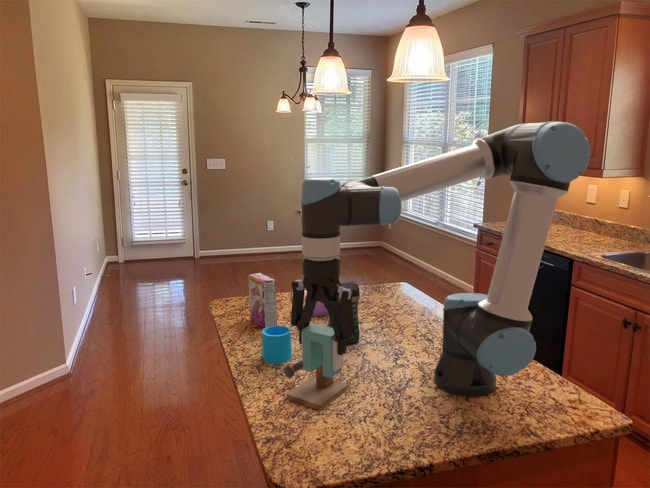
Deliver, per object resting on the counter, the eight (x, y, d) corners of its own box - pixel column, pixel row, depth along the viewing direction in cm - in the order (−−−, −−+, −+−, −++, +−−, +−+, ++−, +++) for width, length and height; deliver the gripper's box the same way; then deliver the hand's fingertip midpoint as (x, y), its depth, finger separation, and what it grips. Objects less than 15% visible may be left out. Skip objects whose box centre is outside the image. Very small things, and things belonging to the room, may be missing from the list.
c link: (341, 370, 104) (341, 330, 102) (330, 378, 101) (330, 336, 99) (314, 362, 108) (313, 323, 106) (303, 369, 105) (302, 329, 103)
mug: (293, 362, 140) (292, 335, 138) (263, 365, 139) (262, 337, 137) (288, 345, 152) (287, 320, 150) (261, 347, 150) (260, 322, 149)
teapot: (301, 304, 189) (300, 278, 187) (327, 301, 193) (327, 275, 191) (315, 320, 173) (314, 291, 171) (343, 316, 176) (343, 288, 174)
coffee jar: (334, 348, 149) (334, 288, 145) (324, 339, 156) (323, 281, 152) (363, 343, 153) (364, 284, 149) (352, 334, 160) (352, 277, 156)
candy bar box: (249, 320, 173) (247, 274, 170) (262, 317, 176) (260, 272, 172) (264, 330, 164) (262, 281, 161) (277, 326, 167) (276, 279, 163)
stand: (348, 388, 125) (347, 337, 122) (307, 420, 111) (306, 363, 108) (315, 378, 130) (314, 329, 128) (272, 407, 117) (270, 353, 114)
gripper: (374, 258, 97) (373, 368, 102) (293, 247, 108) (295, 346, 113) (354, 266, 91) (354, 383, 96) (270, 253, 102) (273, 358, 107)
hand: (322, 363), depth 104 cm, fingers closed on c link, 7 cm apart
